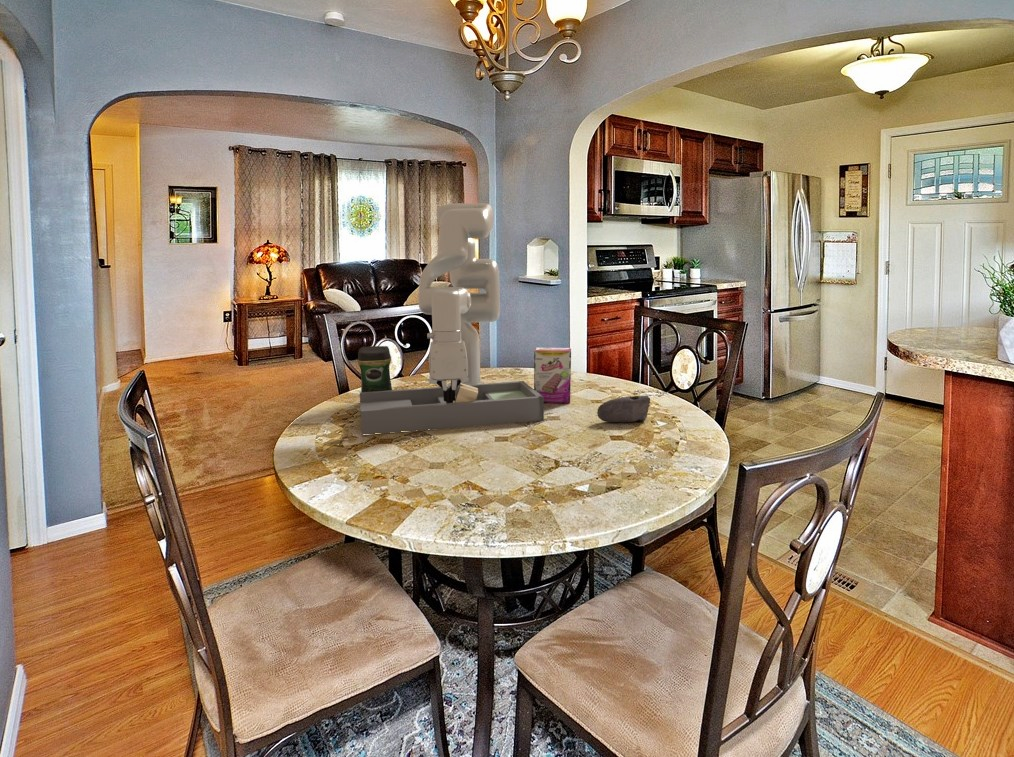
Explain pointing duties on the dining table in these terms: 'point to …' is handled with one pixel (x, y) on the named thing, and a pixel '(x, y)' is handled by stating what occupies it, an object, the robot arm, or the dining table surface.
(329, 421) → the dining table surface
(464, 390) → the maple block
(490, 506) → the dining table surface
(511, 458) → the dining table surface
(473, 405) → the box
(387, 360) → the coffee jar
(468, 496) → the dining table surface
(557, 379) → the candy bar box
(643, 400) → the perforated stone tool
